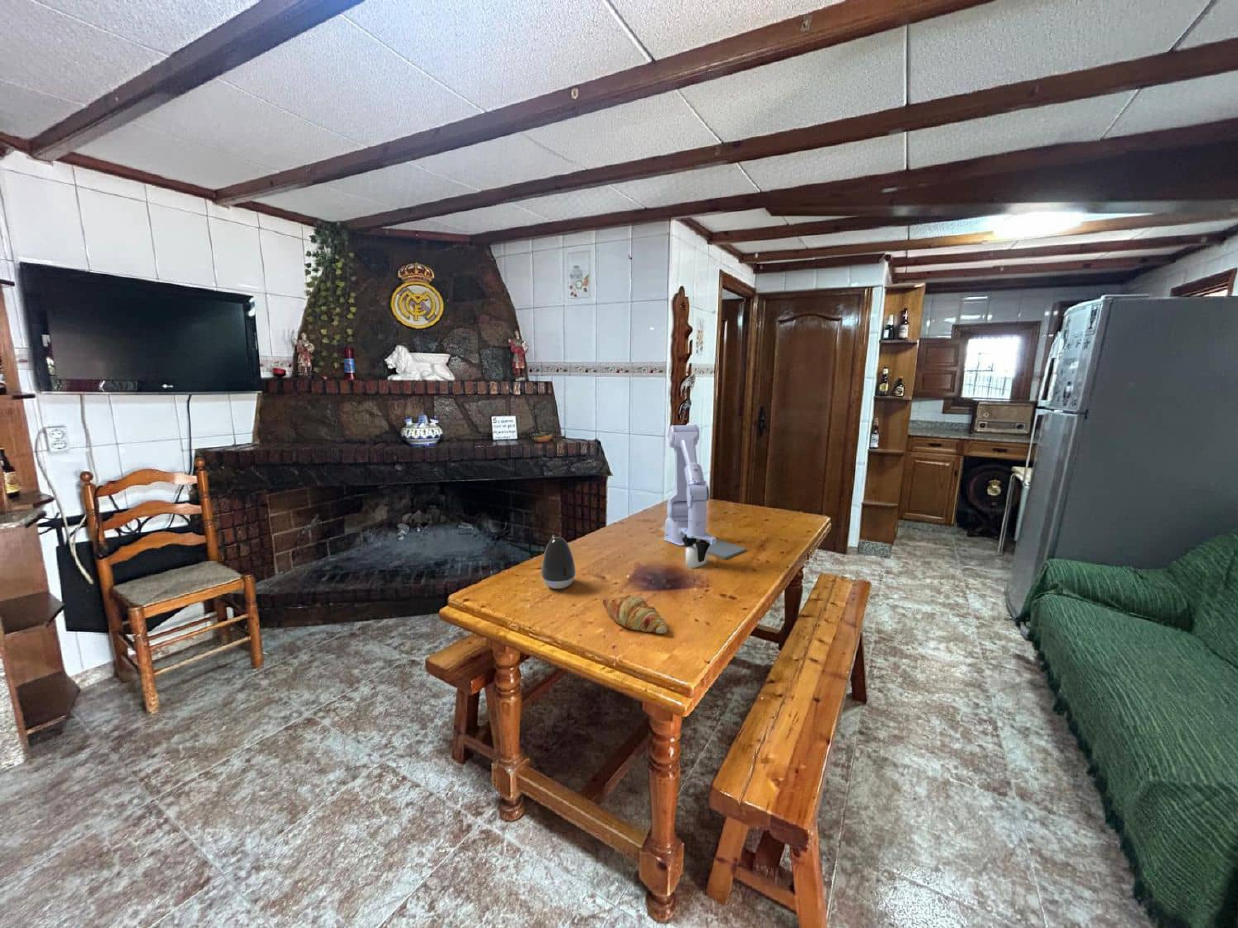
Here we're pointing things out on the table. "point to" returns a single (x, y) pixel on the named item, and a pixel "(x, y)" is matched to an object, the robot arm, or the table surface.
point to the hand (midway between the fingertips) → (696, 559)
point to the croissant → (634, 614)
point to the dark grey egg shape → (558, 564)
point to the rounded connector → (693, 557)
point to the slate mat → (724, 549)
